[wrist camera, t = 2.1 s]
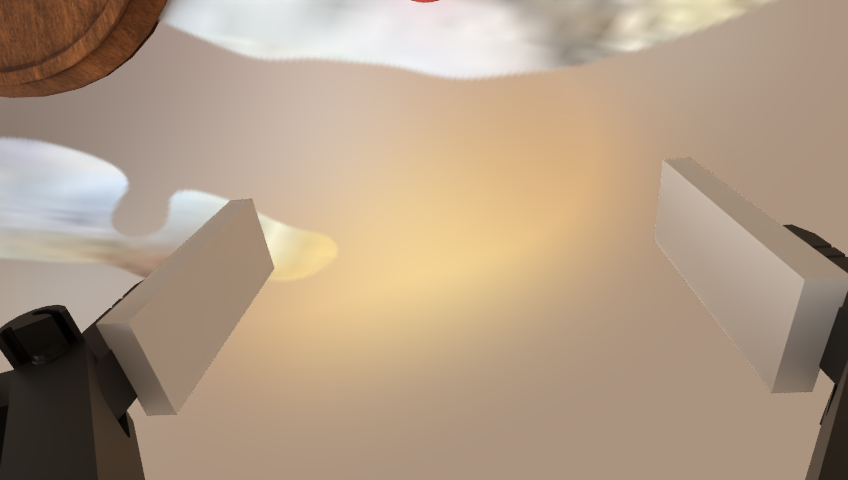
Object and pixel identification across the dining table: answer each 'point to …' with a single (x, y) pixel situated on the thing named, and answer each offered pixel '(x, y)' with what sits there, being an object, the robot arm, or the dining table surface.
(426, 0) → the ball
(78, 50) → the cutting board
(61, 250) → the dining table surface
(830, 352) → the robot arm
